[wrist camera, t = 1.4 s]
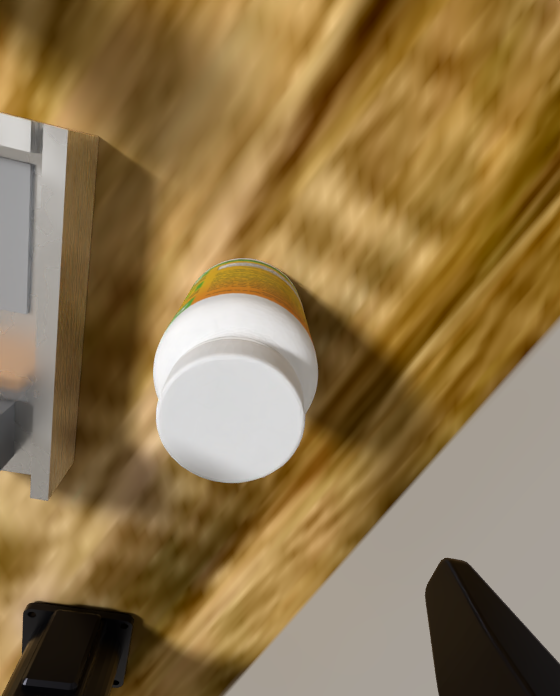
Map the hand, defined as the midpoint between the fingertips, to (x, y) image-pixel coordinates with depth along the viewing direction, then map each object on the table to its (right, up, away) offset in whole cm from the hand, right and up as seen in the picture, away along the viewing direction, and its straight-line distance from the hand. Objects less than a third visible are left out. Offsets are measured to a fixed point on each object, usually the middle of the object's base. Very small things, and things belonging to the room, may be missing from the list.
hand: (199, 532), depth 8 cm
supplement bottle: (0, +5, +13) cm, 14 cm away
